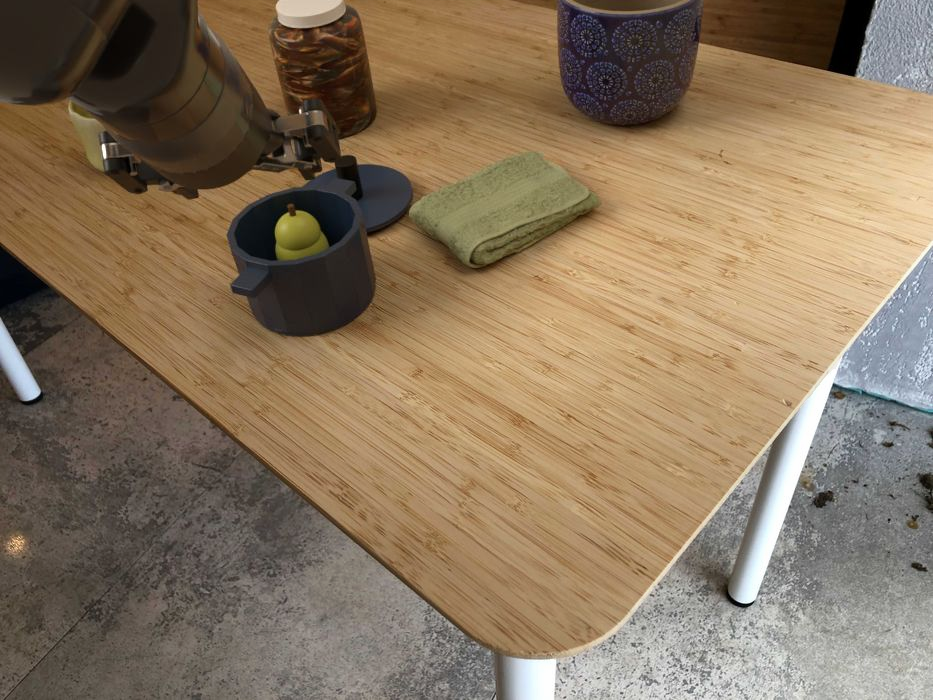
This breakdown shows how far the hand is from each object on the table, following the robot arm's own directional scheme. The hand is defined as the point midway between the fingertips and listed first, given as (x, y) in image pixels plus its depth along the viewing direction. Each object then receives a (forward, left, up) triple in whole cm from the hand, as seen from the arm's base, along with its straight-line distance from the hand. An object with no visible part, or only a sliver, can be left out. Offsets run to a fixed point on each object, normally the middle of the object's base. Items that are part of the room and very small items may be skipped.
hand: (250, 176), depth 62 cm
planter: (+12, +55, -21) cm, 60 cm away
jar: (-23, +42, -21) cm, 52 cm away
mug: (-42, +25, -21) cm, 53 cm away
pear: (-6, +10, -20) cm, 23 cm away
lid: (-10, +25, -20) cm, 33 cm away
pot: (-6, +10, -21) cm, 24 cm away
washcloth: (+7, +28, -21) cm, 36 cm away
